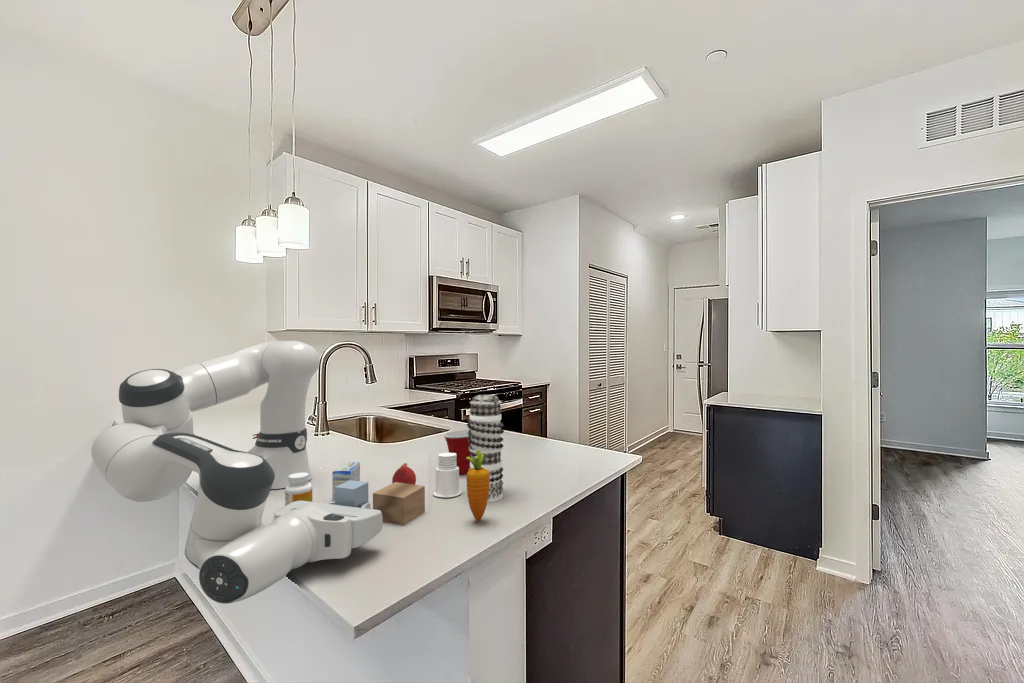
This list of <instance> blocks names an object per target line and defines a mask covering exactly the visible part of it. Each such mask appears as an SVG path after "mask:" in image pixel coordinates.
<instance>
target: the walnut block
mask: <svg viewBox="0 0 1024 683" xmlns="http://www.w3.org/2000/svg"><path fill="white" fill-rule="evenodd" d="M425 488H426V487H425V485H419V484H415V485H413V484H406V483H398V482H395V483H390V484H388V485H387V486H385V487H382V488H380V489H378V490H376V491H374V492H373V493H372V509H374V510H380V511H381V513H382V520H383V522H382V523H386V524H392V525H398V526H406V525H407V524H409V523H410V522H411V521H413V520H415V519H416V518H417V517H419V516H421V515H422V514H424V513H425V512H426V500H425V499H426V491H425V490H426V489H425Z"/></svg>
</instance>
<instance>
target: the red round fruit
mask: <svg viewBox="0 0 1024 683" xmlns="http://www.w3.org/2000/svg"><path fill="white" fill-rule="evenodd" d="M416 481H417V475H416V473H415V472H414V470H413V469H412V468H410V467H409V466H408V463H406V462H403V463H402V464H401V466H400V467H399V468H398V469H396V470H395V472H394V473H393V476H392V479H391V482H392V483H395V482H398V483H406V484H413V485H417V484H416V483H417V482H416ZM392 483H391V484H392Z"/></svg>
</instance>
